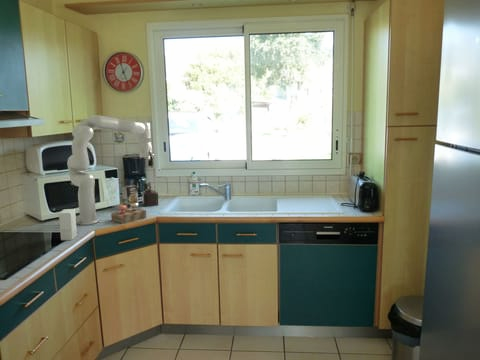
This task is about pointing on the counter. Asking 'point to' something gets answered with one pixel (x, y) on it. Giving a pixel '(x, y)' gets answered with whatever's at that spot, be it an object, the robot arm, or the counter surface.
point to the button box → (128, 215)
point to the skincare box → (67, 224)
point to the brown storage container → (149, 196)
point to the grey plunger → (134, 206)
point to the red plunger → (122, 208)
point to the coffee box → (130, 195)
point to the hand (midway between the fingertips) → (146, 165)
